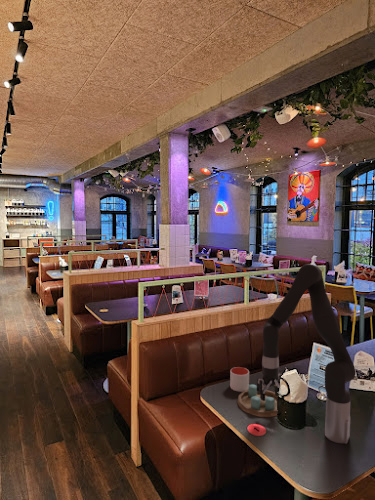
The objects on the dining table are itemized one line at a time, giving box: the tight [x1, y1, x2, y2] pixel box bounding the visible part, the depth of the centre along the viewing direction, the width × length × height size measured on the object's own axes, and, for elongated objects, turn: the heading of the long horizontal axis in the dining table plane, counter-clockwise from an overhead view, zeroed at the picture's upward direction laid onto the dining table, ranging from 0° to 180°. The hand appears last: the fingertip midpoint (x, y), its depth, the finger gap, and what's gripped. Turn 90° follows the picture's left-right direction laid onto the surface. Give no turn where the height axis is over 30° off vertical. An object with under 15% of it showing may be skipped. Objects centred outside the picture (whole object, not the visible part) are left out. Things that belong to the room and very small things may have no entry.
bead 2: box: [251, 396, 260, 411], centre depth 165 cm, size 4×4×6 cm
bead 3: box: [265, 397, 275, 411], centre depth 165 cm, size 4×4×6 cm
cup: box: [229, 366, 250, 393], centre depth 187 cm, size 10×10×10 cm
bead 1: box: [248, 384, 257, 398], centre depth 177 cm, size 4×4×6 cm
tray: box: [237, 388, 278, 418], centre depth 171 cm, size 23×23×3 cm
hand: (270, 397), depth 163 cm, fingers open, 8 cm apart
